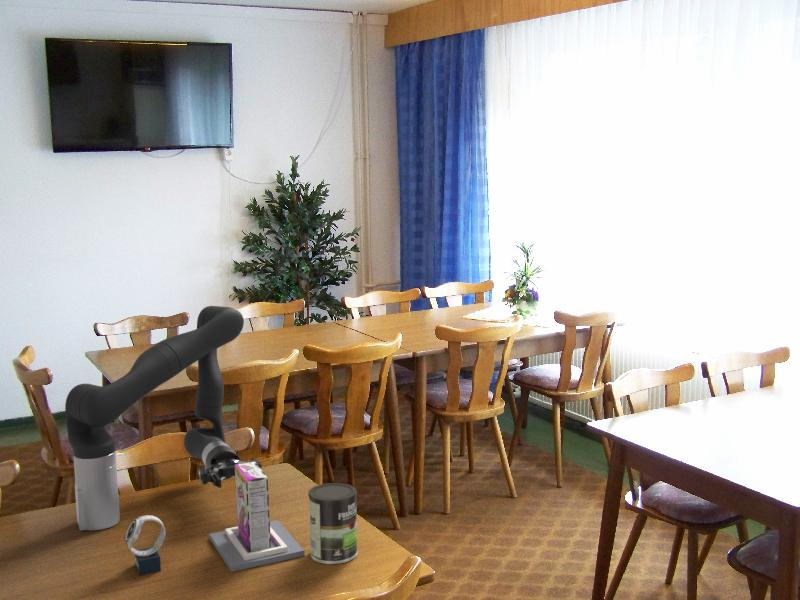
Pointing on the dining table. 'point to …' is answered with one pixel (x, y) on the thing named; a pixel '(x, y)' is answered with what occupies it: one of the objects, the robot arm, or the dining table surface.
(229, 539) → the collar plate
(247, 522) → the candy bar box
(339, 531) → the coffee can
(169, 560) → the dining table surface
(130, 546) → the watch
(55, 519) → the dining table surface
